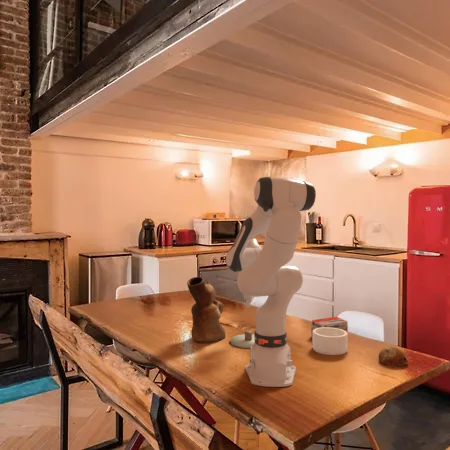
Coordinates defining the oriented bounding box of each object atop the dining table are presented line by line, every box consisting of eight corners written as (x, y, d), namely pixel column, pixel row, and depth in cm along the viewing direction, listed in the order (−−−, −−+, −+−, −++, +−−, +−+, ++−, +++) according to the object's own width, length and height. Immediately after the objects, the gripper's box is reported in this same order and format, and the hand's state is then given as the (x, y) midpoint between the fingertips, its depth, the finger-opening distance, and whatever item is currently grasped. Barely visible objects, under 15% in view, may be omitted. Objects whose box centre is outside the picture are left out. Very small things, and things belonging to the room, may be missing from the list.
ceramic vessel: (232, 337, 191) (232, 274, 190) (204, 350, 173) (203, 280, 172) (205, 332, 200) (205, 271, 199) (176, 344, 182) (175, 277, 181)
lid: (266, 348, 175) (266, 337, 174) (229, 347, 176) (229, 337, 176) (265, 337, 190) (265, 327, 190) (231, 336, 192) (231, 326, 192)
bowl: (350, 355, 167) (350, 337, 166) (315, 354, 168) (315, 336, 168) (343, 344, 181) (343, 327, 181) (310, 343, 182) (310, 327, 182)
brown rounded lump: (388, 365, 166) (380, 346, 168) (412, 360, 160) (403, 340, 162) (380, 373, 158) (371, 352, 160) (405, 367, 152) (396, 346, 154)
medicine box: (321, 341, 185) (321, 324, 185) (311, 336, 193) (311, 320, 192) (348, 337, 191) (348, 320, 191) (336, 332, 199) (336, 316, 198)
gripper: (255, 278, 171) (255, 310, 172) (255, 270, 192) (255, 299, 192) (240, 278, 172) (240, 310, 173) (242, 270, 192) (242, 299, 193)
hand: (248, 304), depth 183 cm, fingers open, 8 cm apart
